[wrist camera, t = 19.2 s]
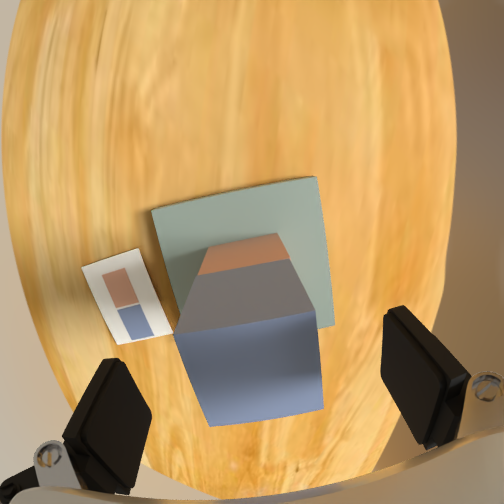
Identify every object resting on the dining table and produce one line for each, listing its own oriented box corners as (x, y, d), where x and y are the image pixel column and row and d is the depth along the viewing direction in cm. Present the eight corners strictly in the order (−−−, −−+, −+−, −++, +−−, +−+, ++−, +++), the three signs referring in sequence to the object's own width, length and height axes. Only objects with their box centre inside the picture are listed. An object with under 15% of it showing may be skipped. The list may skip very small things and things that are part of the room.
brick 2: (196, 275, 16) (172, 335, 10) (289, 258, 16) (315, 310, 10) (217, 352, 17) (209, 426, 11) (300, 337, 17) (323, 408, 11)
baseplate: (156, 207, 22) (150, 210, 21) (311, 176, 22) (316, 176, 20) (195, 342, 25) (193, 351, 24) (330, 316, 25) (334, 325, 24)
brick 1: (208, 246, 22) (197, 276, 16) (277, 232, 22) (290, 257, 16) (224, 308, 23) (219, 352, 17) (288, 295, 23) (303, 337, 17)
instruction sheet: (81, 267, 23) (80, 267, 23) (138, 247, 23) (137, 248, 23) (117, 344, 25) (117, 345, 25) (173, 332, 25) (173, 333, 25)
